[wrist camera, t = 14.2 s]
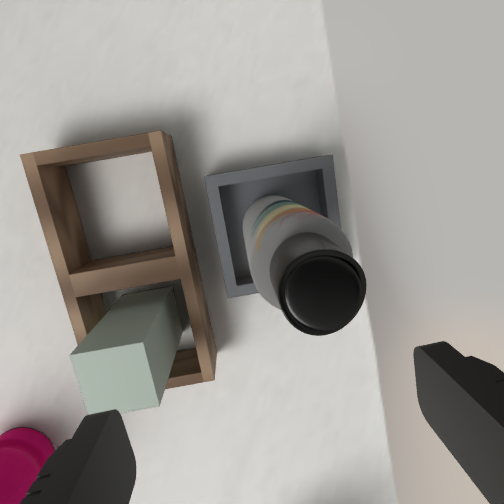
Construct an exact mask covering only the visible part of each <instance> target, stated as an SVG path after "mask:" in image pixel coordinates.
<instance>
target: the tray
mask: <svg viewBox="0 0 504 504" xmlns="http://www.w3.org/2000/svg"><path fill="white" fill-rule="evenodd" d="M204 179H205V184H206V189H207V194H208V199H209V204H210V209H211V215H212V220H213V225H214V230H215V235H216V240H217V245H218V251H219V256H220V261H221V266H222V271H223V276H224V281H225V287H226V292H227V297H228V298H233V297H238V296H244V295H250V294H255V293H259V291H258V290H257V288H256V286H255V284H254V282H253V279H252V276H251V272H250V267H249V262H248V256H247V251H246V246H245V240H244V235H243V219H244V216H245V213H246V211H247V210H248V208H249V207H250V206H251V204H252V203H254V202H255V201H256V200H258V199H260V198H262V197H265V196H269V195H278V196H283V197H286V198H288V199H290V200H292V201H294V202H296V203H298V204H300V205H302V206H304V207H306V208H308V209H310V210H312V211H314V212H316V213H318V214H320V215H322V216H324V217H326V218H327V219H329V220H331V221H332V222H333V223H335V224H336V225H337V226H338V227H339V228H340V229H341V225H340V217H339V208H338V199H337V190H336V181H335V172H334V164H333V155H326V156H320V157H314V158H308V159H303V160H297V161H291V162H285V163H279V164H274V165H268V166H262V167H256V168H251V169H245V170H239V171H233V172H227V173H222V174H216V175H210V176H205V177H204Z"/></svg>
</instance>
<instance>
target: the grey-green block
mask: <svg viewBox="0 0 504 504" xmlns="http://www.w3.org/2000/svg"><path fill="white" fill-rule="evenodd" d="M181 335H182V328H181V323H180V319H179V314H178V310H177V306H176V301H175V297H174V293H173V288H172V287H166V288H161V289H155V290H149V291H143V292H138V293H132V294H126V295H122V296H121V297H120V299H119V300H118V301H117V302H116V303H115V304H114V305H113V306H112V308H111V309H110V310H109V311H108V312H107V313H106V314H105V316H104V317H103V318H102V319H101V320H100V321H99V322H98V324H97V325H96V326H95V327H94V328H93V329H92V330H91V331H90V333H89V334H88V335H87V336H86V337H85V338H84V339H83V341H82V342H81V343H80V344H79V345H78V346H77V347H76V348H75V350H74V351H73V352H72V353H71V354H70V359H71V362H72V365H73V368H74V371H75V375H76V378H77V381H78V384H79V387H80V391H81V394H82V397H83V400H84V404H85V407H86V410H87V413H88V415H90V414H94V413H99V412H104V411H109V410H114V409H116V410H118V411H119V412H120V413H125V412H130V411H136V410H142V409H147V408H153V407H158V406H160V403H161V400H162V397H163V393H164V390H165V387H166V384H167V381H168V377H169V374H170V371H171V368H172V364H173V361H174V358H175V355H176V352H177V348H178V345H179V342H180V339H181Z"/></svg>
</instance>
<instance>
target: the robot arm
mask: <svg viewBox="0 0 504 504" xmlns="http://www.w3.org/2000/svg"><path fill="white" fill-rule="evenodd" d="M414 365H415V376H416V386H417V396H418V401H419V405H420V408H421V411H422V413H423V415H424V417H425V419H426V421H427V422H428V423H429V425H430V426H431V428H432V429H433V430H434V431H435V433H436V434H437V435H438V437H439V438H440V439H441V440H442V442H443V443H444V444H445V446H446V447H447V448H448V450H449V451H450V452H451V453H452V455H453V456H454V458H455V459H456V460H457V461H458V463H459V464H460V465H461V467H462V468H463V469H464V470H465V472H466V473H467V474H468V476H469V477H470V478H471V480H472V481H473V482H474V484H475V485H476V486H477V487H478V489H479V490H480V491H481V493H482V494H483V495H484V497H485V498H486V499H487V500H488V502H489V503H490V504H504V373H503V372H502V371H501V370H499V369H498V368H497V367H496V366H494V365H493V364H490V363H487V362H485V361H483V360H480V359H478V358H475V357H473V356H469V357H464V356H463V355H462V354H461V353H459V352H458V351H457V350H456V349H454V348H453V347H452V346H451V345H450V344H448V343H447V342H444V341H442V342H438V343H433V344H428V345H423V346H418V347H415V349H414ZM135 480H136V461H135V456H134V453H133V450H132V447H131V444H130V441H129V438H128V435H127V432H126V429H125V426H124V423H123V420H122V417H121V414H120V412H119V411H118V410H116V409H114V410H109V411H104V412H99V413H94V414H90V415H87V416H85V417H84V419H83V420H82V422H81V424H80V425H79V427H78V429H77V430H76V432H75V434H74V436H73V437H72V439H69V440H66V441H65V442H64V443H63V444H62V445H61V446H60V447H59V448H58V449H57V450H56V451H55V452H54V453H53V454H52V455H51V456H50V457H49V458H48V459H47V461H46V462H45V464H44V465H43V467H42V469H41V470H40V472H39V473H38V475H37V477H36V481H33V483H32V485H31V486H30V488H29V490H28V491H27V493H26V497H25V498H23V499H22V501H21V502H20V504H129V501H130V498H131V495H132V491H133V488H134V484H135Z"/></svg>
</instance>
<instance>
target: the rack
mask: <svg viewBox="0 0 504 504" xmlns="http://www.w3.org/2000/svg"><path fill="white" fill-rule="evenodd" d="M146 152H152V153H153V157H154V162H155V166H156V171H157V175H158V180H159V184H160V189H161V193H162V198H163V202H164V207H165V211H166V216H167V220H168V225H169V229H170V234H171V238H172V243H173V246H171V247H165V248H160V249H154V250H148V251H143V252H137V253H131V254H125V255H120V256H114V257H108V258H103V259H97V260H91V256H90V252H89V249H88V245H87V242H86V238H85V234H84V231H83V227H82V224H81V220H80V216H79V213H78V209H77V206H76V202H75V199H74V195H73V191H72V188H71V184H70V181H69V177H68V173H67V170H66V166H70V165H76V164H82V163H87V162H93V161H99V160H105V159H111V158H117V157H122V156H128V155H134V154H140V153H146ZM20 157H21V160H22V163H23V167H24V170H25V173H26V177H27V180H28V183H29V186H30V190H31V193H32V196H33V200H34V203H35V206H36V209H37V213H38V216H39V219H40V223H41V226H42V229H43V232H44V236H45V239H46V242H47V245H48V249H49V252H50V255H51V259H52V262H53V265H54V268H55V272H56V275H57V278H58V282H59V285H60V288H61V291H62V295H63V298H64V301H65V305H66V308H67V311H68V314H69V318H70V321H71V324H72V328H73V331H74V334H75V337H76V341H77V344H78V345H79V344H80V343H81V342H82V341H83V339H84V338H85V337H86V336H87V335H88V334H89V333H90V331H91V330H92V329H93V328H94V327H95V326H96V325H97V324H98V322H99V321H100V320H101V319H102V318H103V317H104V316H105V314H106V310H105V306H104V303H103V299H102V295H101V293H103V292H109V291H114V290H120V289H126V288H131V287H137V286H143V285H148V284H154V283H160V282H165V281H171V280H177V279H181V283H182V287H183V292H184V296H185V301H186V305H187V310H188V314H189V319H190V323H191V328H192V332H193V337H194V341H195V346H196V348H193V349H188V350H182V351H177V352H176V355H175V358H174V361H173V364H172V368H171V371H170V374H169V377H168V381H167V384H166V387H165V389H169V388H174V387H180V386H185V385H191V384H196V383H202V382H207V381H213V380H215V368H216V357H217V352H216V347H215V342H214V337H213V333H212V328H211V323H210V318H209V314H208V309H207V304H206V299H205V294H204V290H203V285H202V280H201V275H200V271H199V266H198V261H197V256H196V252H195V247H194V242H193V237H192V232H191V228H190V223H189V218H188V213H187V209H186V204H185V199H184V194H183V189H182V185H181V180H180V175H179V170H178V166H177V161H176V156H175V151H174V147H173V142H172V137H171V136H170V135H168V134H166V133H164V132H162V131H155V132H150V133H144V134H138V135H132V136H126V137H120V138H114V139H109V140H103V141H97V142H91V143H85V144H79V145H73V146H68V147H62V148H56V149H50V150H44V151H38V152H33V153H27V154H21V155H20Z"/></svg>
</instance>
